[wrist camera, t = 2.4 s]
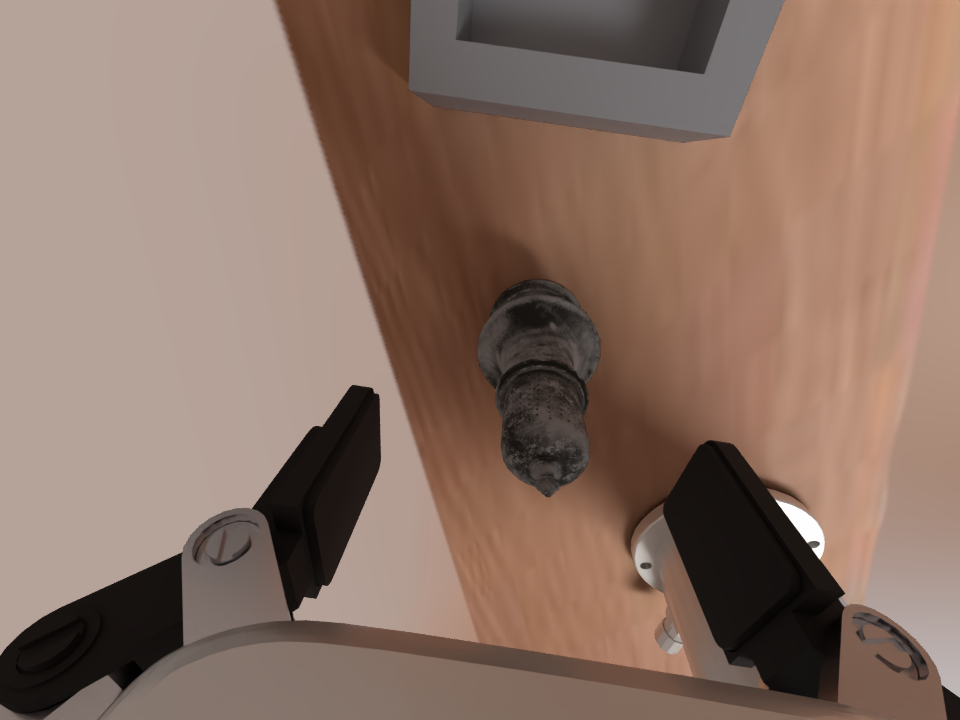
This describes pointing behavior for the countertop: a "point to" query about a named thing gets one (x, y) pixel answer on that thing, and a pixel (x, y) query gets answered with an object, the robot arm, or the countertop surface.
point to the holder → (593, 61)
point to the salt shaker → (541, 380)
